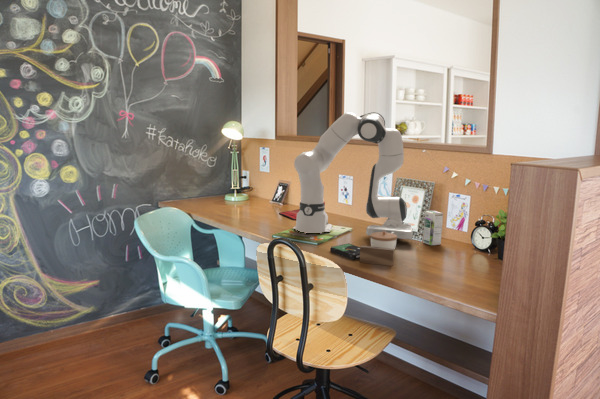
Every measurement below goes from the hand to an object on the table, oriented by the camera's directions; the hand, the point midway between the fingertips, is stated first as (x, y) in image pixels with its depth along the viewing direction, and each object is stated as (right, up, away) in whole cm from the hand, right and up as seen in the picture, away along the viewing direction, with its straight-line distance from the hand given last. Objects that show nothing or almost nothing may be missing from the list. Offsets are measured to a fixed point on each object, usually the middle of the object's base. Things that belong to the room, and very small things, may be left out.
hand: (387, 236), depth 199 cm
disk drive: (-17, -7, -10) cm, 21 cm away
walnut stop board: (-8, -9, -22) cm, 25 cm away
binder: (-38, +6, +64) cm, 75 cm away
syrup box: (+22, -4, +8) cm, 24 cm away
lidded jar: (-3, -7, -8) cm, 11 cm away
